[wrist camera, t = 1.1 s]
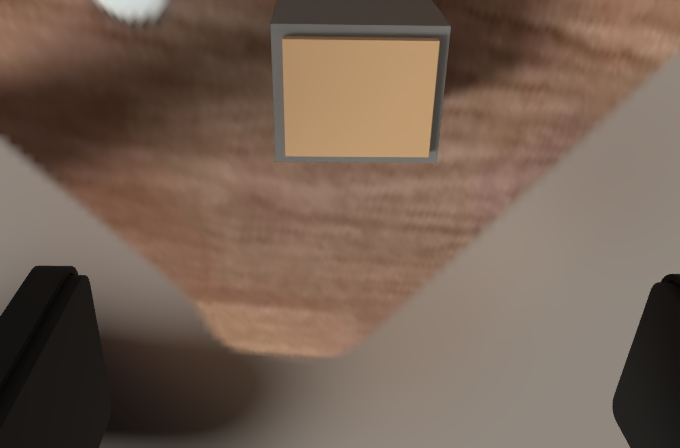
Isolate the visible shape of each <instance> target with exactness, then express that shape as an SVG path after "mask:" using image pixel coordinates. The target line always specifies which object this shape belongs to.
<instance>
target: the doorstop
mask: <svg viewBox="0 0 680 448" xmlns="http://www.w3.org/2000/svg"><path fill="white" fill-rule="evenodd" d="M270 26H271V54H272V82H273V110H274V137H275V162H397V163H437V156H438V147H439V137H440V127H441V118H442V108H443V98H444V89H445V79H446V69H447V60H448V50H449V40H450V31H451V25H450V24H449V23H448V21H447V20H446V18H445V17H444V16H443V14H442V13H441V11H440V10H439V9H438V7H437V6H436V4H435V3H434V2H433V0H277V3H276V7H275V10H274V13H273V17H272V20H271V23H270Z"/></svg>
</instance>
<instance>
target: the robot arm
mask: <svg viewBox="0 0 680 448" xmlns="http://www.w3.org/2000/svg"><path fill="white" fill-rule="evenodd" d="M110 409H111V398H110V392H109V386H108V381H107V375H106V370H105V364H104V358H103V353H102V348H101V342H100V336H99V331H98V325H97V320H96V314H95V309H94V303H93V298H92V292H91V286H90V282H89V279H88V277H87V276H85V275H78V272H77V270H76V269H75V267H73V266H35V267H34V268H33V269H32V270H31V272H30V273H29V274H28V276H27V277H26V279H25V281H24V282H23V283H22V285H21V286H20V288H19V289H18V291H17V292H16V294H15V295H14V297H13V298H12V300H11V301H10V303H9V305H8V306H7V307H6V309H5V310H4V312H3V313H2V315H1V316H0V448H99V446H100V443H101V440H102V437H103V434H104V432H105V429H106V426H107V423H108V420H109V416H110ZM613 414H614V417H615V420H616V422H617V424H618V426H619V427H620V429H621V431H622V433H623V435H624V437H625V438H626V440H627V442H628V444H629V446H630V448H680V274H669V275H666V276H665V277H664V278H663V279H662V281H661V282H660V283H659V282H658V283H656V284H655V285H653V287H652V289H651V291H650V294H649V297H648V300H647V303H646V305H645V308H644V311H643V314H642V317H641V320H640V323H639V326H638V329H637V331H636V334H635V337H634V340H633V343H632V346H631V349H630V351H629V354H628V357H627V360H626V363H625V366H624V369H623V372H622V375H621V377H620V380H619V383H618V386H617V389H616V392H615V395H614V398H613Z"/></svg>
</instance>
